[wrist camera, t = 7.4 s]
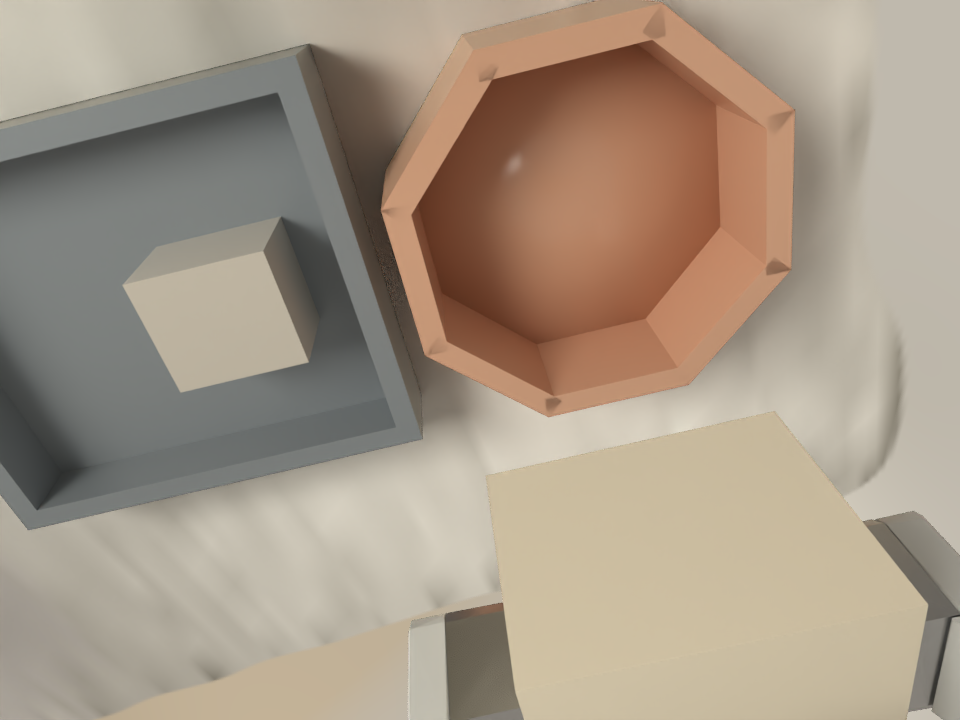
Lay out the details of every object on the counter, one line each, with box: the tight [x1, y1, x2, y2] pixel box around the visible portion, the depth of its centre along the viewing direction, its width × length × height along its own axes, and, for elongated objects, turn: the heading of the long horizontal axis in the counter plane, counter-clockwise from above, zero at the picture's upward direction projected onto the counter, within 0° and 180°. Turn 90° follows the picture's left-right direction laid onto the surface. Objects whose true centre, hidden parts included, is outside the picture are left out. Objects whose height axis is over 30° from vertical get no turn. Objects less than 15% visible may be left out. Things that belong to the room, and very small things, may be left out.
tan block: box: [486, 411, 928, 720], centre depth 9 cm, size 4×4×3 cm
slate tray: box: [0, 44, 423, 530], centre depth 24 cm, size 16×14×3 cm
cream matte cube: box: [123, 216, 320, 392], centre depth 23 cm, size 4×4×3 cm
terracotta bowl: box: [381, 0, 795, 417], centre depth 22 cm, size 12×12×4 cm
